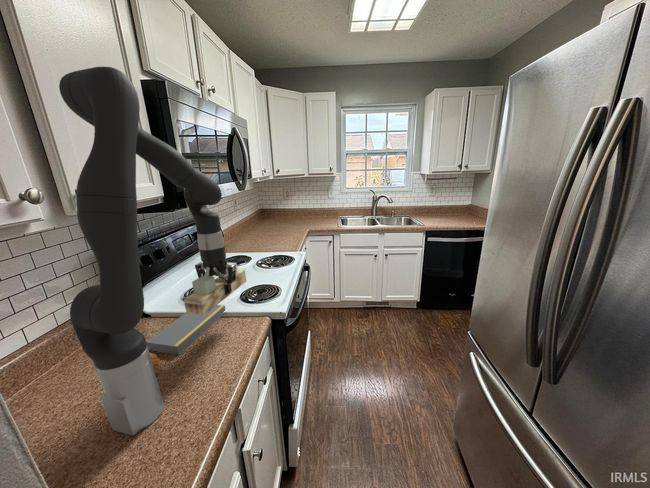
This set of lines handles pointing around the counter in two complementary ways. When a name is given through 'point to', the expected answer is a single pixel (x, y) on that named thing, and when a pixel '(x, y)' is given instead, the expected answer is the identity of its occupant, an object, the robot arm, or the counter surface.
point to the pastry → (155, 363)
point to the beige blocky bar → (212, 296)
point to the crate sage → (204, 285)
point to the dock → (184, 331)
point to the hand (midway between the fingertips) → (219, 292)
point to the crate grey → (232, 264)
